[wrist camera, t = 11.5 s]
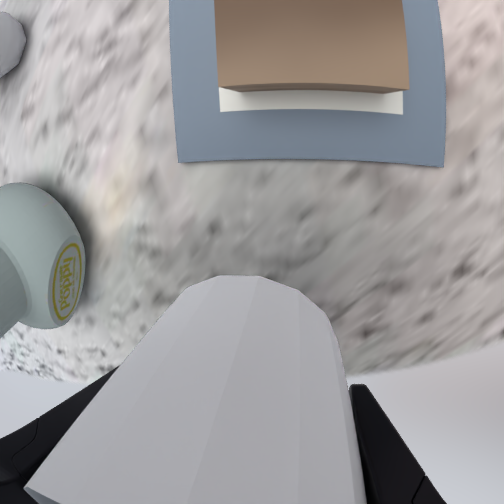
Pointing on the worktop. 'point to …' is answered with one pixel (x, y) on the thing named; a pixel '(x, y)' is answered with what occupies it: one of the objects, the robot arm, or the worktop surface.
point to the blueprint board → (306, 103)
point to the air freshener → (37, 259)
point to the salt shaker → (10, 42)
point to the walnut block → (311, 45)
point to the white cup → (217, 409)
